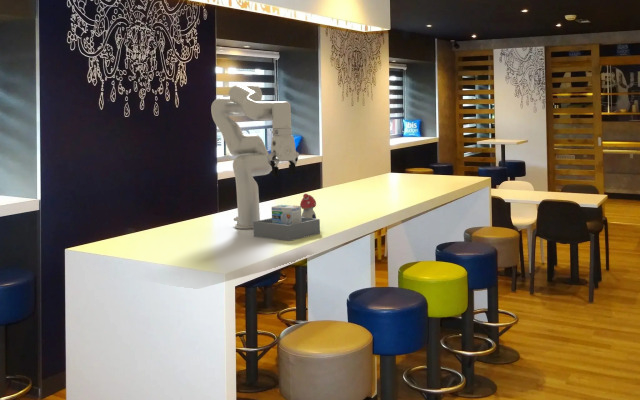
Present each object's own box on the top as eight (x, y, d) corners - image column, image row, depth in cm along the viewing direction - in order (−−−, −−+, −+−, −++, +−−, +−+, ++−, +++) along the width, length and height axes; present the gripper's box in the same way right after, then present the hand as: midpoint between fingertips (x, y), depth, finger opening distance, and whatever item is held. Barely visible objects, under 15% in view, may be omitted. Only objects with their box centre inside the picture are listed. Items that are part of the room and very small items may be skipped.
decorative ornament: (308, 229, 295) (307, 194, 293) (296, 228, 298) (294, 193, 296) (321, 226, 302) (320, 191, 300) (309, 225, 306) (308, 191, 304)
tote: (254, 236, 284) (253, 221, 283) (285, 229, 297) (284, 215, 297) (289, 240, 271) (288, 225, 270) (320, 233, 284) (319, 218, 283)
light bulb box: (271, 232, 285) (270, 206, 283) (282, 230, 290) (280, 204, 289) (292, 234, 279) (291, 207, 277) (302, 231, 284) (301, 205, 283)
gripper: (273, 134, 270) (275, 178, 272) (303, 131, 283) (305, 173, 285) (259, 134, 275) (262, 177, 277) (290, 131, 288) (292, 173, 290)
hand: (284, 175), depth 281 cm, fingers open, 9 cm apart
